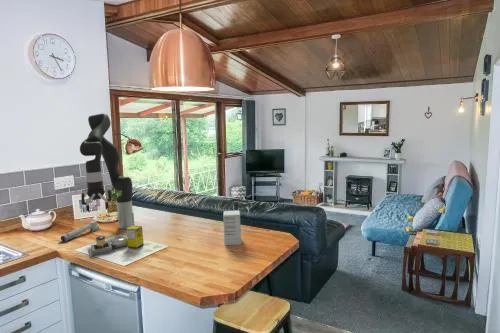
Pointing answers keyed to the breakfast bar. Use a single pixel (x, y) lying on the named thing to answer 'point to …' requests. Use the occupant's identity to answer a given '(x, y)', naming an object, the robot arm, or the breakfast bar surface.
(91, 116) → the robot arm
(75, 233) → the grey long rod
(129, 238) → the supplement box
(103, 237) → the tan grey cylinder
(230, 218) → the supplement box
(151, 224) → the breakfast bar surface
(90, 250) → the grey slotted holder
